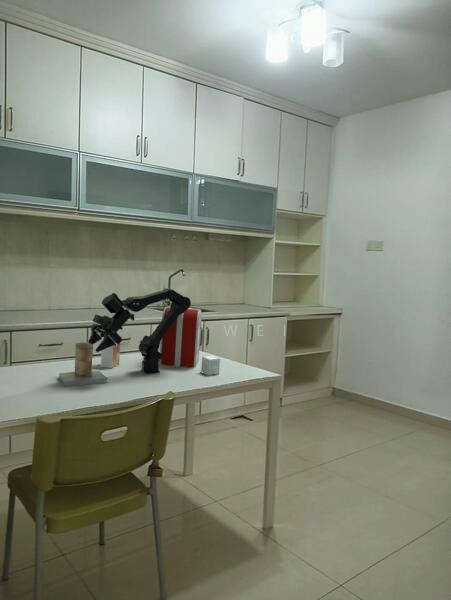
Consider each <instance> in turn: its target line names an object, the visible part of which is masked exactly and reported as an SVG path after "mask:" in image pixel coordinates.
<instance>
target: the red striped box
mask: <svg viewBox="0 0 451 600" xmlns="http://www.w3.org/2000/svg"><path fill="white" fill-rule="evenodd" d="M169 310H170V306H166V307H164V309H163V311H162V317H161V321H162V320H163V318H164V317H165V316H166V314H167V313H168V312H169ZM202 314H203V313H202V309H200V308H192V307H191V308H190V307H189V308H188V309H187V310H186V311H185V312H184V313H182V314H181V315H179V316H178V317H177V319H176V320H175V321H174V323H173V324H172V326H171V327H170V328H169V330H168V331H167V332H166V334H165V335H164V336H163V338H162V339H161V341H160V346H159V352H160V353H161V354H162V357H161V359H159V366H168V367H169V366H170V367H172V366H173V367H181V368H182V367H184V368H194V369H195V368H196V367H197V365H198V363H199V360H200V348H201V346H200V345H201V332H202V331H201V329H202Z"/></svg>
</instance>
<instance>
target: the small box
mask: <svg viewBox="0 0 451 600" xmlns="http://www.w3.org/2000/svg"><path fill="white" fill-rule="evenodd" d="M120 354H121V343H120V344H119V345H118V344H116V345H114V346H111V347H108V348H106V349H104V350H101V357H100V359H101V360H100V367H101V368H108V369H113V368H115V367H117V366H119V365H120V360H121V359H120V356H121V355H120Z"/></svg>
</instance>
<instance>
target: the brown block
mask: <svg viewBox="0 0 451 600" xmlns="http://www.w3.org/2000/svg"><path fill="white" fill-rule="evenodd" d="M74 346H75V353H74V354H75V356H74V357H75V358H74V371H73V372H74V375H76V376H77V377H79V378H82V377H90V376H92V370H93V351H94V350H93V349H94V344H91V343H89V342H88V341H86V342H85V341H84V342H75V345H74Z"/></svg>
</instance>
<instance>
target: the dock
mask: <svg viewBox="0 0 451 600" xmlns="http://www.w3.org/2000/svg"><path fill="white" fill-rule="evenodd" d="M74 372H75V371H66V372H65V371H64V372H59V373H58V378H59V380H60V381H61V382H62V384H63V385H64V386H65V387H71V386H72V387H73V386H84V385H95V384H107V382H108V378H107V376H106V375H105V374H103V373H102V372H101V371H100V369H92V376H90V377H82V378H79V377H77V376H76V375H74Z"/></svg>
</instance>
